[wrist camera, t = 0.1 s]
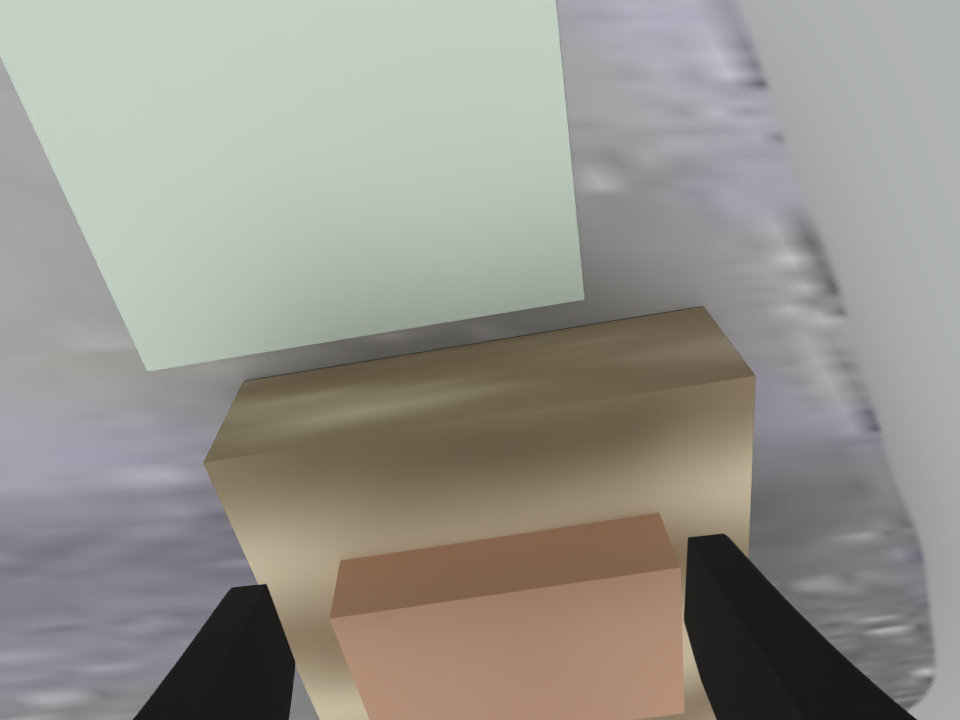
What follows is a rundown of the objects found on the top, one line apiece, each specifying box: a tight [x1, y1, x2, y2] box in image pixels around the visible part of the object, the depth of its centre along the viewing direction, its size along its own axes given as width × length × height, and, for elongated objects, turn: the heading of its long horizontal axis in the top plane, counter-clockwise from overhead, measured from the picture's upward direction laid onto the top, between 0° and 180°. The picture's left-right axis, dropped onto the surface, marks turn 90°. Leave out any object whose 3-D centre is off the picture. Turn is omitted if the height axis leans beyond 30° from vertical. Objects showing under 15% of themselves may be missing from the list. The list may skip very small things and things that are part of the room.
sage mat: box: [0, 0, 585, 372], centre depth 18 cm, size 10×13×1 cm
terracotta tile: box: [330, 513, 685, 720], centre depth 20 cm, size 6×9×2 cm, turn 100°
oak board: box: [204, 307, 755, 720], centre depth 23 cm, size 14×14×4 cm
